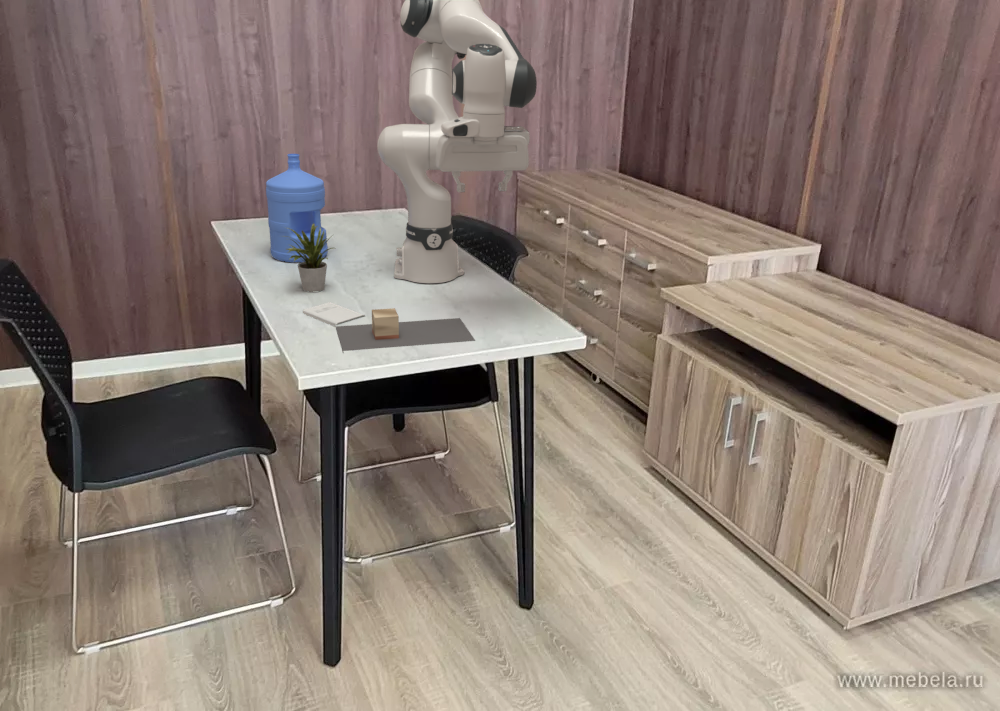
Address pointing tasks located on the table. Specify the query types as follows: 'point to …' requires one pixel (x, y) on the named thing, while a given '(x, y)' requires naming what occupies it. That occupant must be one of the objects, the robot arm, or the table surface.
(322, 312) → the external hard drive
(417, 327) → the rubber mat
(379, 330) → the maple block
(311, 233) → the house plant
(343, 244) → the table surface
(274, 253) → the water jug
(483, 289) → the table surface
